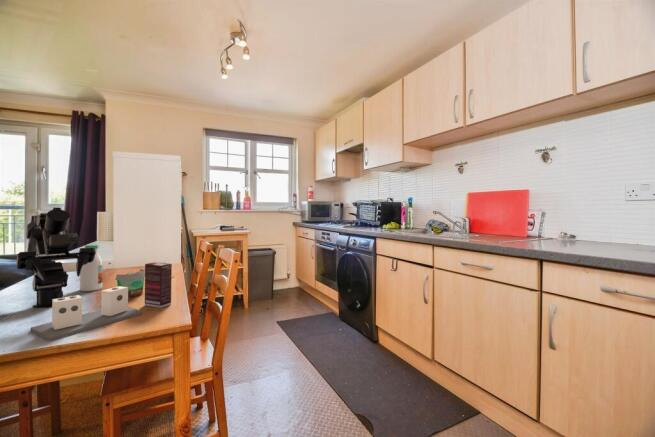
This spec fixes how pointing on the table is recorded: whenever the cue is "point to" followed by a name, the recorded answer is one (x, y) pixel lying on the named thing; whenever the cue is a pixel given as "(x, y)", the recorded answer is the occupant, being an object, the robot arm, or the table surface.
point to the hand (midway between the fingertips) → (62, 277)
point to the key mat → (83, 324)
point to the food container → (132, 283)
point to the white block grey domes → (66, 312)
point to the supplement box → (158, 284)
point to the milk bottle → (92, 273)
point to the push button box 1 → (114, 300)
